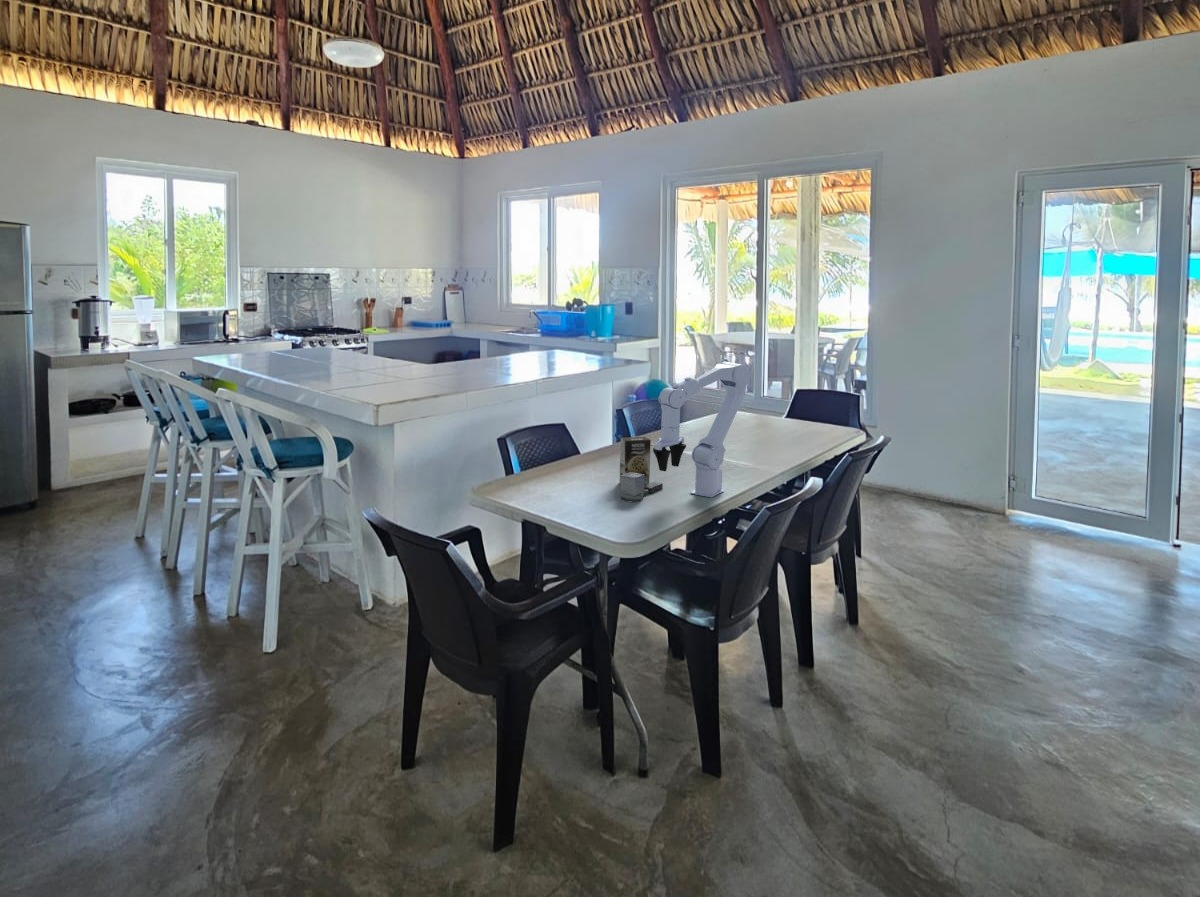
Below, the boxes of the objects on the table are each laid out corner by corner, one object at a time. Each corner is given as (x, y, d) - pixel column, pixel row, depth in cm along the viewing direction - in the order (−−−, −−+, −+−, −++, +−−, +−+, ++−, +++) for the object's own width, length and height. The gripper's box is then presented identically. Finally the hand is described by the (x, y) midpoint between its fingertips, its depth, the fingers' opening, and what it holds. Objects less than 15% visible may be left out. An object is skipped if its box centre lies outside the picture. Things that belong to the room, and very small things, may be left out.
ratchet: (649, 486, 266) (649, 473, 265) (667, 489, 262) (667, 476, 261) (616, 499, 250) (617, 486, 249) (635, 503, 246) (635, 489, 245)
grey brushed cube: (630, 489, 254) (630, 471, 253) (643, 492, 251) (644, 474, 250) (620, 493, 250) (620, 475, 249) (634, 496, 247) (635, 478, 246)
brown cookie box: (624, 487, 264) (625, 441, 260) (619, 482, 270) (619, 437, 266) (650, 485, 266) (651, 439, 263) (644, 480, 272) (645, 435, 269)
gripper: (671, 421, 253) (669, 462, 256) (647, 428, 241) (646, 470, 244) (690, 424, 249) (688, 465, 252) (666, 431, 237) (665, 474, 240)
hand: (669, 468), depth 248 cm, fingers open, 7 cm apart
